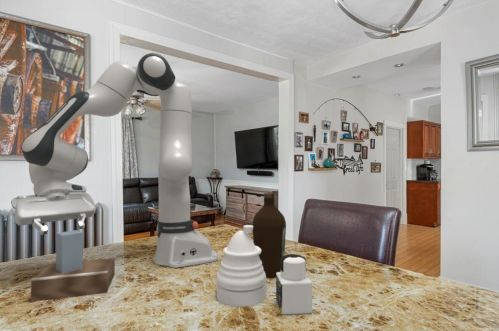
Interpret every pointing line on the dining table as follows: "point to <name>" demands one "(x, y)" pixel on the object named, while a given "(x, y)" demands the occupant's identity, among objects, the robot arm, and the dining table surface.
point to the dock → (73, 280)
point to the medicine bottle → (293, 286)
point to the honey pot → (241, 272)
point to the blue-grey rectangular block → (69, 251)
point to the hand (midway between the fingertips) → (63, 230)
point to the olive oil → (270, 235)
